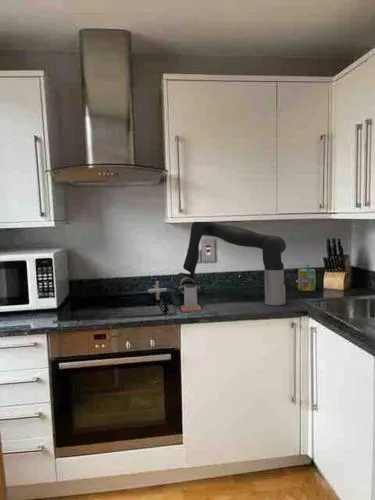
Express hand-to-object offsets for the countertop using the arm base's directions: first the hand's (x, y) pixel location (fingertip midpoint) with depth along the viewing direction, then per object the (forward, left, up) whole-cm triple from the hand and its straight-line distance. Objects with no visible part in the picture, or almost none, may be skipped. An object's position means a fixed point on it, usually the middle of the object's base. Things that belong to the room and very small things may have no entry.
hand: (190, 291), depth 178 cm
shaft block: (0, 0, -9) cm, 9 cm away
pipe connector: (+16, -26, -9) cm, 31 cm away
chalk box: (-70, -33, -9) cm, 78 cm away
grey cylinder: (0, 0, -7) cm, 8 cm away
